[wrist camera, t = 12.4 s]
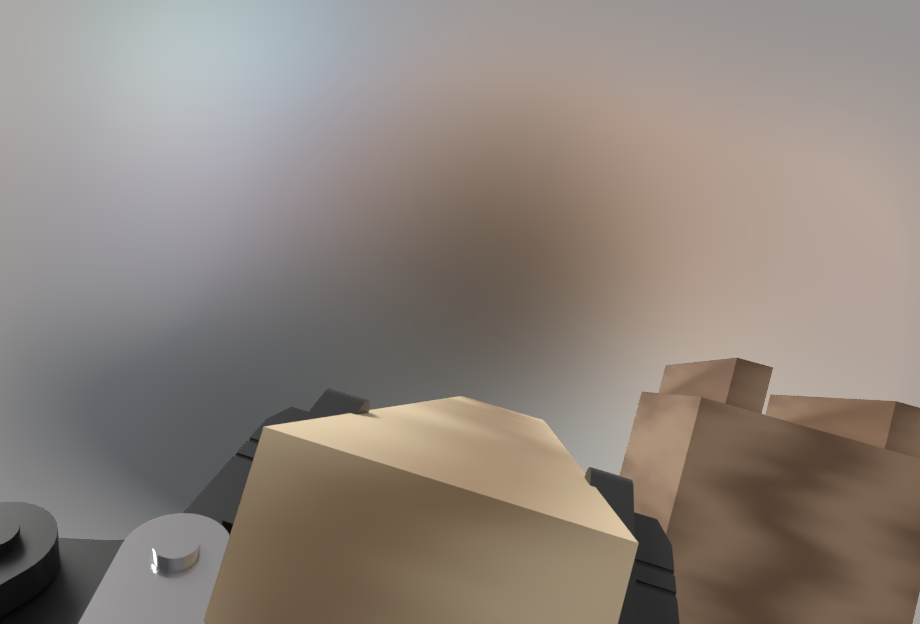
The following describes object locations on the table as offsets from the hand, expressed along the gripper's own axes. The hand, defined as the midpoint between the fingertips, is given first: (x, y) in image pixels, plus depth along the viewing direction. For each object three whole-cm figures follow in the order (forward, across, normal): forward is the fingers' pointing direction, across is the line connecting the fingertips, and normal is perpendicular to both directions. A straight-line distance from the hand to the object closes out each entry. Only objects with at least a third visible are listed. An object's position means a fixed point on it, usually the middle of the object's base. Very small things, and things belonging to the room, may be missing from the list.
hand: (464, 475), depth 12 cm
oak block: (+5, 0, +7) cm, 8 cm away
